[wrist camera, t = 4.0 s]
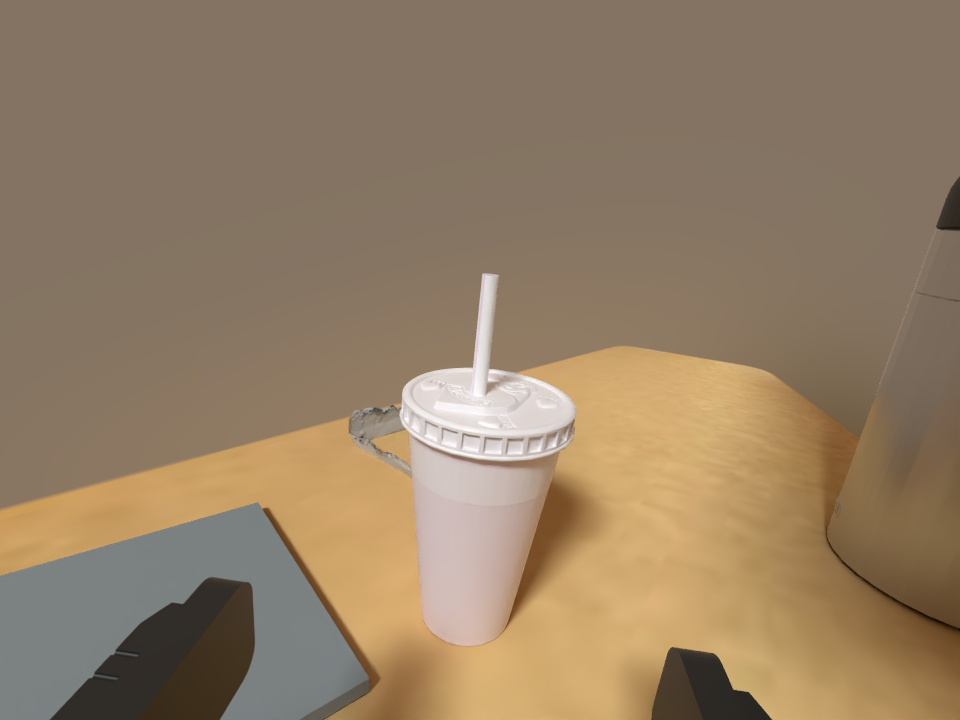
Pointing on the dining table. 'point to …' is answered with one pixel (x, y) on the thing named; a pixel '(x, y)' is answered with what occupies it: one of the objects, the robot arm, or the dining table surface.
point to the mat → (152, 586)
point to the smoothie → (479, 482)
